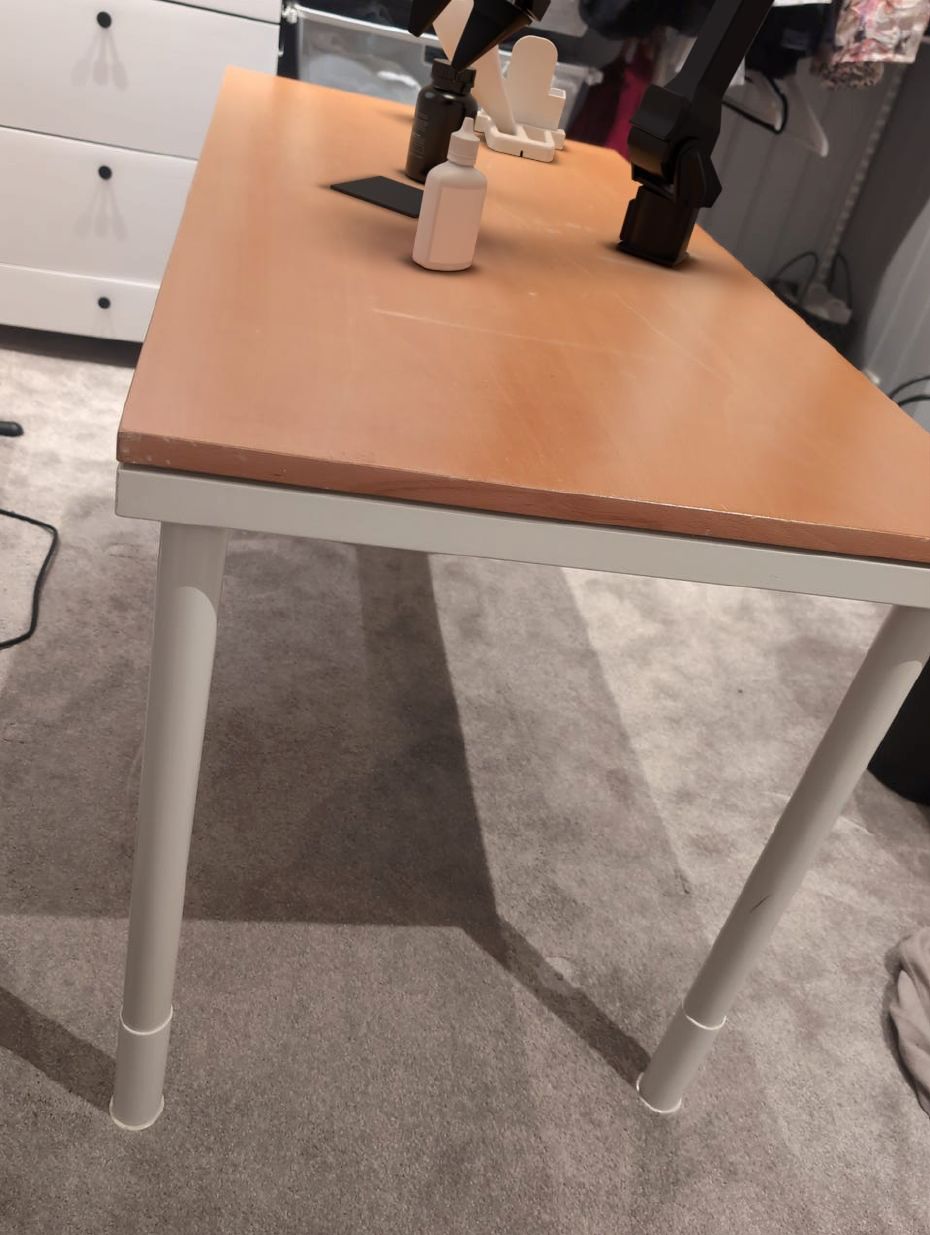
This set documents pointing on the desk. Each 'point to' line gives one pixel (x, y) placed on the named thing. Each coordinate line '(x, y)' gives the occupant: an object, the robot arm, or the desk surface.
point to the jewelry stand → (511, 90)
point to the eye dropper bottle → (452, 206)
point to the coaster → (385, 194)
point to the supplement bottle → (439, 117)
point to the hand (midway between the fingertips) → (434, 53)
